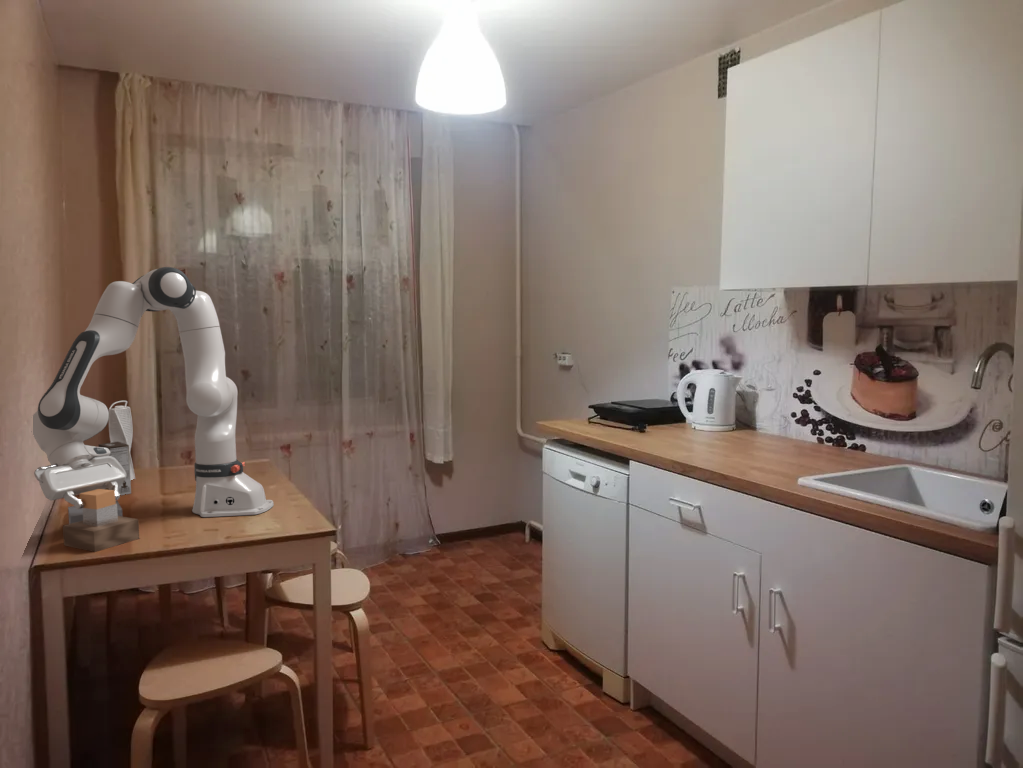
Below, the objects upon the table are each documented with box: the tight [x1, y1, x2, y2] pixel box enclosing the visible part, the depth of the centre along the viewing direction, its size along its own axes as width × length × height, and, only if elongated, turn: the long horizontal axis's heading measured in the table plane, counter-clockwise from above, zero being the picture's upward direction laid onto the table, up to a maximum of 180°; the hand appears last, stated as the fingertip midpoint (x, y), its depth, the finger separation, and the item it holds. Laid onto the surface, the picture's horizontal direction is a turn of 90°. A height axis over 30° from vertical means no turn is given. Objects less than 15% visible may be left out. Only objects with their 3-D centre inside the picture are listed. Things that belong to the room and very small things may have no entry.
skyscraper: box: [108, 400, 136, 481], centre depth 259 cm, size 8×8×28 cm
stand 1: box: [67, 500, 124, 524], centre depth 204 cm, size 12×12×5 cm
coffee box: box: [97, 442, 132, 496], centre depth 242 cm, size 9×6×16 cm
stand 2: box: [62, 516, 140, 553], centre depth 189 cm, size 12×12×5 cm
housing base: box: [82, 504, 118, 527], centre depth 189 cm, size 6×6×4 cm
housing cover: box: [78, 489, 117, 509], centre depth 188 cm, size 6×6×4 cm
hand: (99, 502), depth 189 cm, fingers open, 8 cm apart
